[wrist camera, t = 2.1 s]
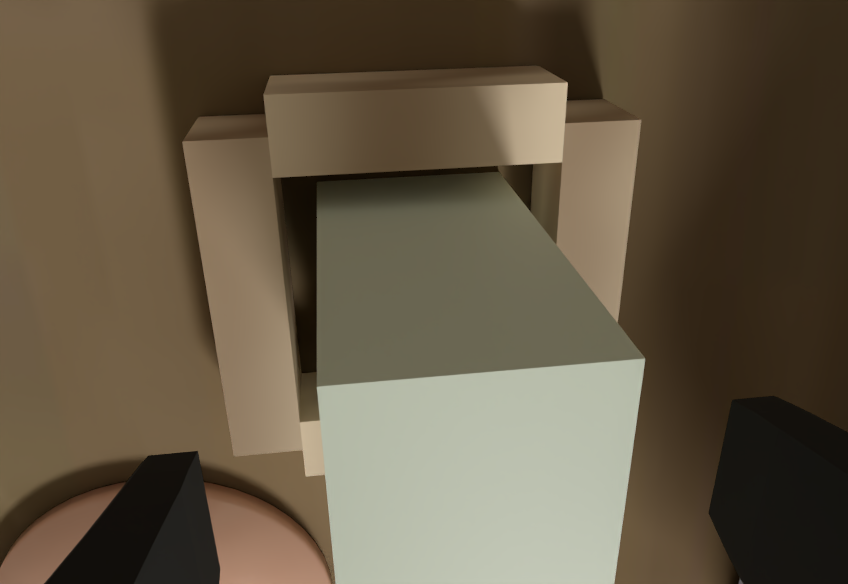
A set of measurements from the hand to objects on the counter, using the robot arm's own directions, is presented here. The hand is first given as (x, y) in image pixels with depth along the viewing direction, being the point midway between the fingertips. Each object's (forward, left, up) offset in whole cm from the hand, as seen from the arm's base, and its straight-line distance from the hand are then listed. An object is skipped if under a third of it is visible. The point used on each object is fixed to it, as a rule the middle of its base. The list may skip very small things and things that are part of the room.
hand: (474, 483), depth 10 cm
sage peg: (0, 0, -8) cm, 8 cm away
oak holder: (0, 0, -8) cm, 8 cm away
